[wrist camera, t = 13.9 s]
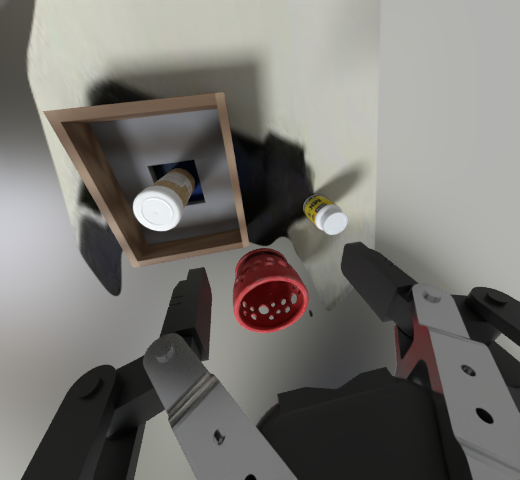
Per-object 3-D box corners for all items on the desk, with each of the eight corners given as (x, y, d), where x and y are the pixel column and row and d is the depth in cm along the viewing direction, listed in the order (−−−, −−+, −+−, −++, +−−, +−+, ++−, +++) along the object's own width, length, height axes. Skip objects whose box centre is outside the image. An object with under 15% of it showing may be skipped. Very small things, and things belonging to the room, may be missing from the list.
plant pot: (300, 262, 44) (324, 303, 33) (258, 296, 47) (268, 342, 36) (262, 228, 38) (278, 264, 27) (217, 268, 41) (216, 315, 30)
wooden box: (86, 116, 25) (43, 111, 19) (223, 100, 27) (224, 91, 21) (148, 244, 35) (133, 268, 29) (244, 227, 37) (249, 246, 31)
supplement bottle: (311, 189, 35) (333, 204, 28) (330, 199, 37) (356, 215, 30) (297, 212, 37) (316, 231, 30) (316, 220, 39) (338, 240, 32)
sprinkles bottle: (191, 199, 32) (174, 237, 21) (162, 189, 31) (127, 224, 19) (199, 174, 31) (185, 200, 19) (169, 162, 29) (135, 182, 18)
